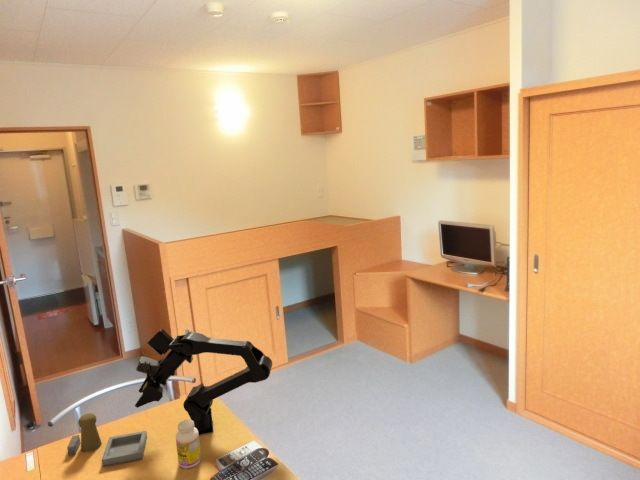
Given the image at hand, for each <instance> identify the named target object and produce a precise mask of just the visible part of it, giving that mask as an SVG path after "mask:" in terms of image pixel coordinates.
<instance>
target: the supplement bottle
mask: <svg viewBox="0 0 640 480" xmlns="http://www.w3.org/2000/svg"><path fill="white" fill-rule="evenodd" d="M177 429H178V430H177V432H176V434H175V443H176V453H177V460H178V465H179V467H181V468H182V469H191V468H194V467H196V466H197V465H199V463H200V462H201V460H202V453H201V444H200V435H199V433H198V430H197V429H196V428H195V427H194V421H193V420H191V419H189V418H188V419H183V420H182V421H180V422H178V424H177Z"/></svg>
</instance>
